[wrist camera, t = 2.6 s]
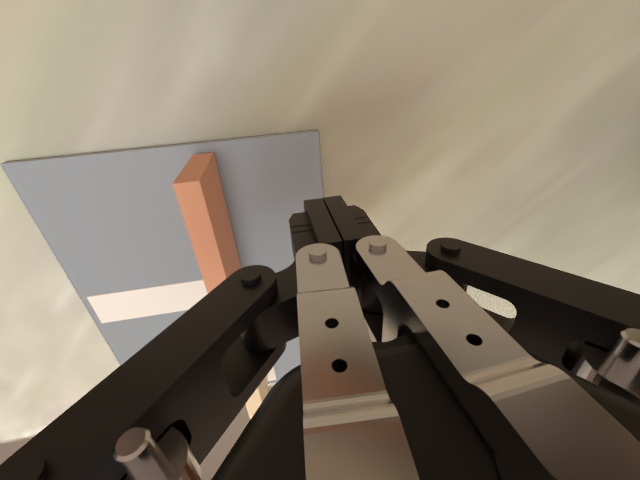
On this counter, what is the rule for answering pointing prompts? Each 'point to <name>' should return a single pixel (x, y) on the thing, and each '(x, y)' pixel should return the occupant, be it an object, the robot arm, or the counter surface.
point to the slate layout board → (164, 227)
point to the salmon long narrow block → (207, 219)
